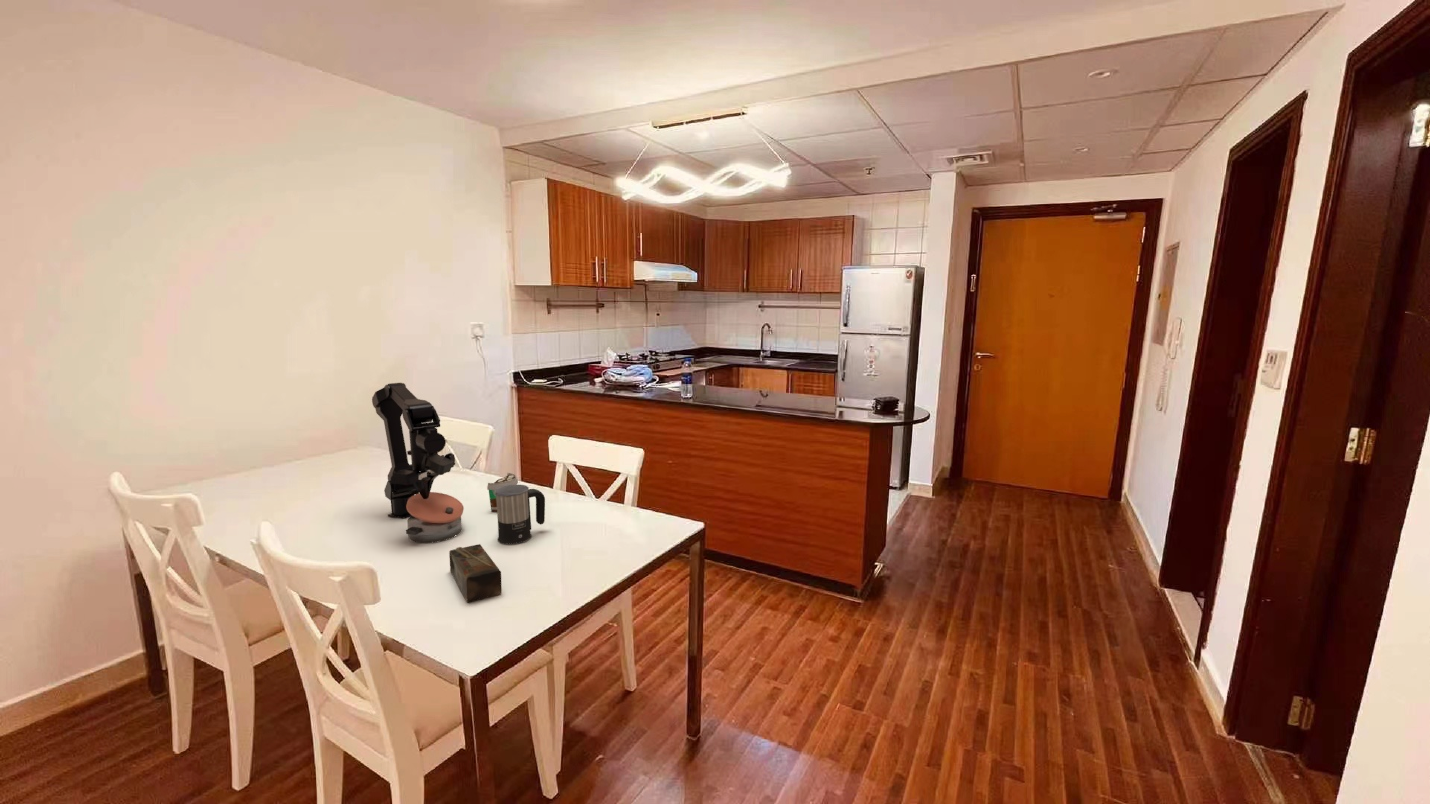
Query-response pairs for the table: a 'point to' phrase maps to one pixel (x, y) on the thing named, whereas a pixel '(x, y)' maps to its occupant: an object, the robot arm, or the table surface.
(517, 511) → the milk frother
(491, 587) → the beverage carton
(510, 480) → the food container
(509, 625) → the table surface
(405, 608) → the table surface
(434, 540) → the pot
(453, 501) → the lid
